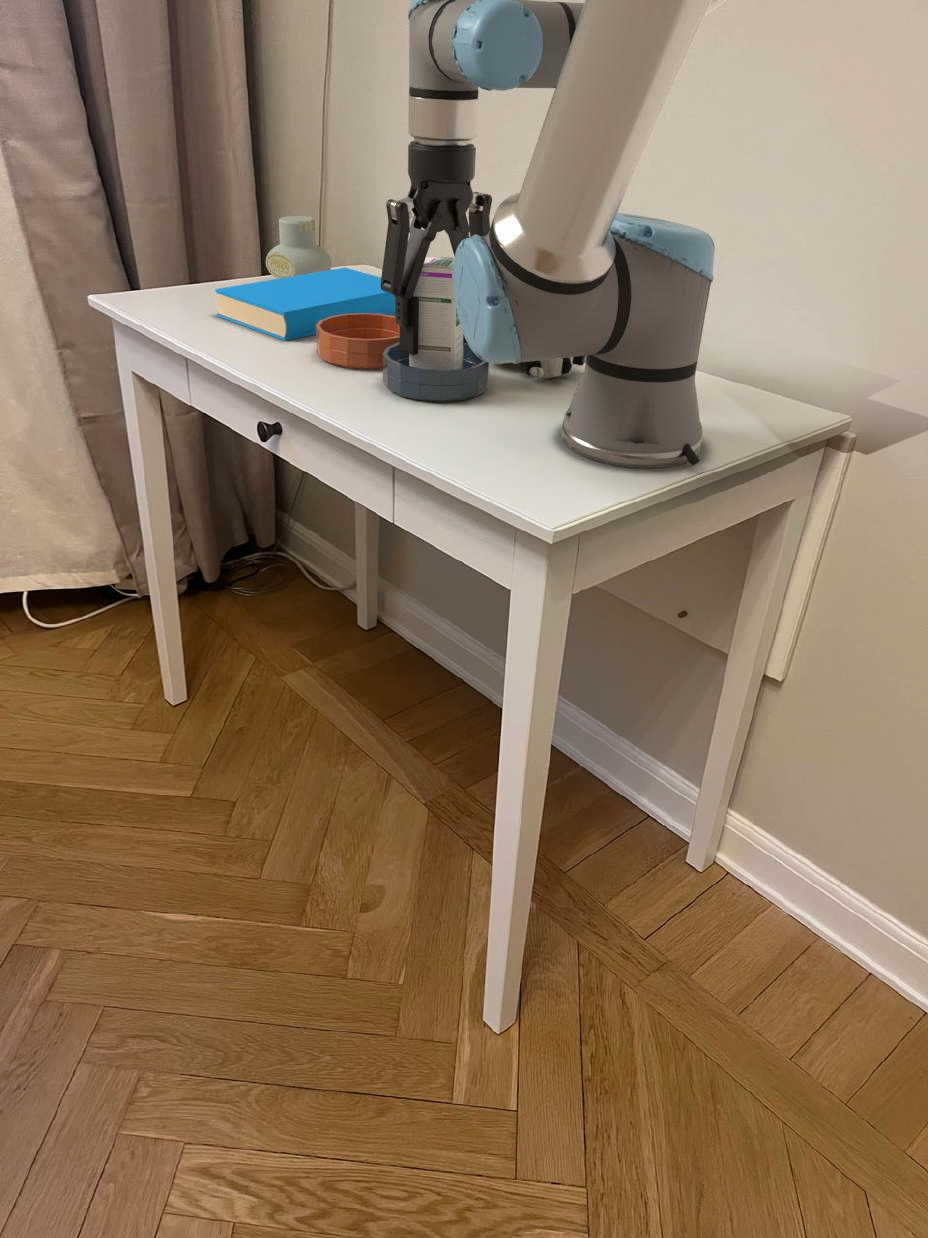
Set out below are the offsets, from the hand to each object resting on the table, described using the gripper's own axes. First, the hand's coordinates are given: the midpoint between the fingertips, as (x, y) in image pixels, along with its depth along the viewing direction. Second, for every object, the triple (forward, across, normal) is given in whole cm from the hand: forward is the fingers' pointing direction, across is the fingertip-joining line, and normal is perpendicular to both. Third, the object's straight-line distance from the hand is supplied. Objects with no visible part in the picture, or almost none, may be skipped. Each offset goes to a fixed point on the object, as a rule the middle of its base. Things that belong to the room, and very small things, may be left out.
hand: (436, 346), depth 121 cm
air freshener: (+5, -15, -56) cm, 58 cm away
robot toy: (+5, -15, +1) cm, 16 cm away
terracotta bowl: (+5, 0, -15) cm, 16 cm away
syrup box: (+5, 0, 0) cm, 5 cm away
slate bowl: (+5, 0, 0) cm, 5 cm away
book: (+5, -6, -36) cm, 37 cm away
